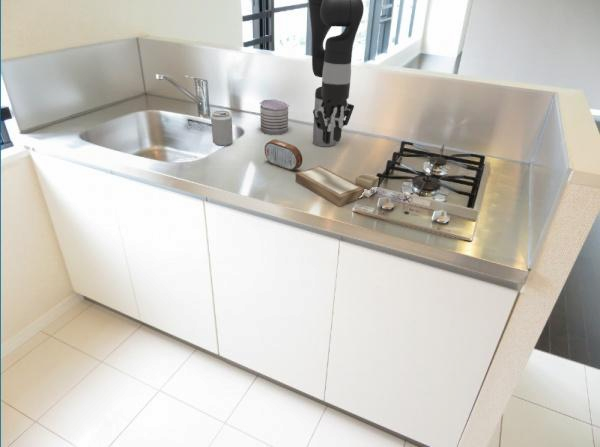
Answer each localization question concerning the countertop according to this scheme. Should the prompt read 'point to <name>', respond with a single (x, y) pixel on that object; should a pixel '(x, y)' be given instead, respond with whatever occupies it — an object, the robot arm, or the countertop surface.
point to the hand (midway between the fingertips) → (331, 141)
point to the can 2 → (274, 117)
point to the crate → (367, 181)
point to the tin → (283, 154)
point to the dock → (329, 185)
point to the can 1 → (222, 128)
